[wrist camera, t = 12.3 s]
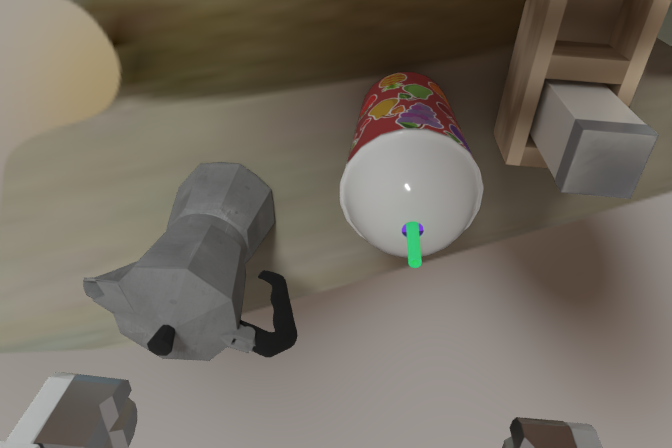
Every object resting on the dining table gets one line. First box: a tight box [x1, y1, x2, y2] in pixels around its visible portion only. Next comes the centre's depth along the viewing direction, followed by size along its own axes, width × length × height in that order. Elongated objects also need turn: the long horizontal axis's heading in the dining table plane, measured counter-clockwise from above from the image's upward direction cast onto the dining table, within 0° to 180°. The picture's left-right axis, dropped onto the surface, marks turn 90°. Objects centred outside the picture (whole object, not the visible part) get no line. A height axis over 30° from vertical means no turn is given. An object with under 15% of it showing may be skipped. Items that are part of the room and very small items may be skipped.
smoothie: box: [340, 72, 484, 268], centre depth 33 cm, size 8×8×20 cm
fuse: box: [529, 78, 659, 199], centre depth 34 cm, size 4×4×11 cm
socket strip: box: [493, 0, 671, 168], centre depth 34 cm, size 21×7×6 cm, turn 177°
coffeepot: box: [83, 162, 297, 361], centre depth 41 cm, size 15×9×18 cm, turn 69°
